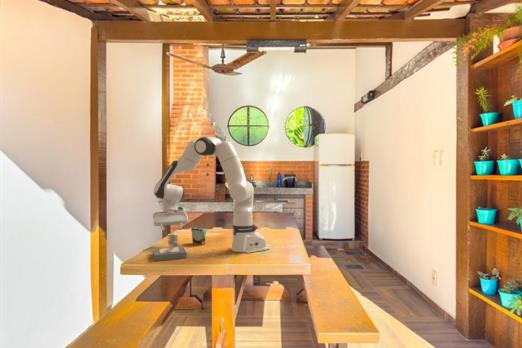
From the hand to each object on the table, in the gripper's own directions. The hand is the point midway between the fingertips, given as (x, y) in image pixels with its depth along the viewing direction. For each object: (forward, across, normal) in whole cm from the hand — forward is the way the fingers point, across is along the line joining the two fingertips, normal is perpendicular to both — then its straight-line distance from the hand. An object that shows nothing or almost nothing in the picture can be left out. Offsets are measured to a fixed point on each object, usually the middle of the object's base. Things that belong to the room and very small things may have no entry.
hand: (171, 229), depth 203 cm
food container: (+4, +18, +11) cm, 21 cm away
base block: (+21, -3, -6) cm, 22 cm away
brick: (+12, 0, +4) cm, 12 cm away
